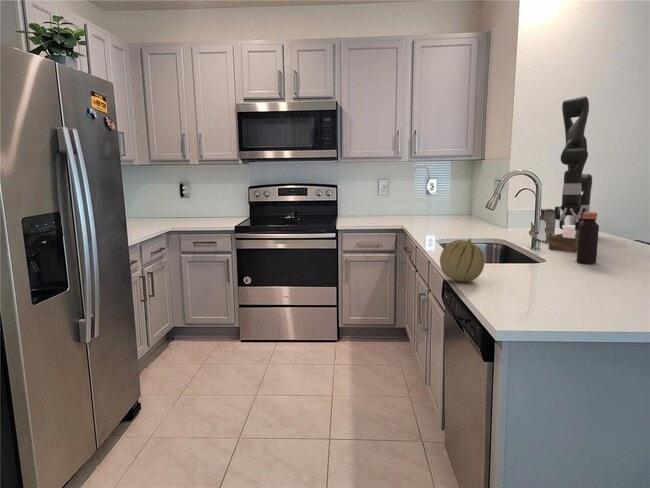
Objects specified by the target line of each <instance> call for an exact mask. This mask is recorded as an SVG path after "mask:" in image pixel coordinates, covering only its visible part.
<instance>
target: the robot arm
mask: <svg viewBox="0 0 650 488" xmlns="http://www.w3.org/2000/svg"><path fill="white" fill-rule="evenodd" d="M561 110H562V118H563V124H564V134H565V146H564V148H563V150H562V151H561V154H560V162H561V163H562V165H565V166H567V170H565V171H564V173H563V175H564V176H563V186H562V191H561V193H562V196H561V205H560V206H555V207H554V210H555V219H556V220H558V221H559V227H558V228H560V230H563V227H562V225H565V220H566V218H567V217H568V221H569V220H570V215H571V222H570V225H575V230H576V234H575V235H578V231H579V225H580V224H581V223H582V222H583V218H582V214H583V212H590V207H591V205H590V204H591V195H592V194H591V193H592V189H593V188H592V187H593V177H592V175H591V174H589V173H583V170H584V168H585V164H586V162H587V159H588V157H589V152H588V140H587V138H586V136H585V130H586V126H587V121H588V115H589V111H590V100H589V98H588V97H587V96H584V95H583V96H578V97H571V98H566V99H564V100H563V101H562V106H561ZM572 118H573V119H574V118H577V120H576V121H574V122H573V119H572ZM561 211H562V212H561Z"/></svg>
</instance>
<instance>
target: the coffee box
mask: <svg viewBox="0 0 650 488" xmlns="http://www.w3.org/2000/svg"><path fill="white" fill-rule="evenodd" d="M540 209H541V216H540V220H544V221H545V222H546V228H545V233H546V240H545V241H544V242H546V243H549V236H552V235H556V234H555V232H556V220H557V219H555V209H553V208H540Z"/></svg>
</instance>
